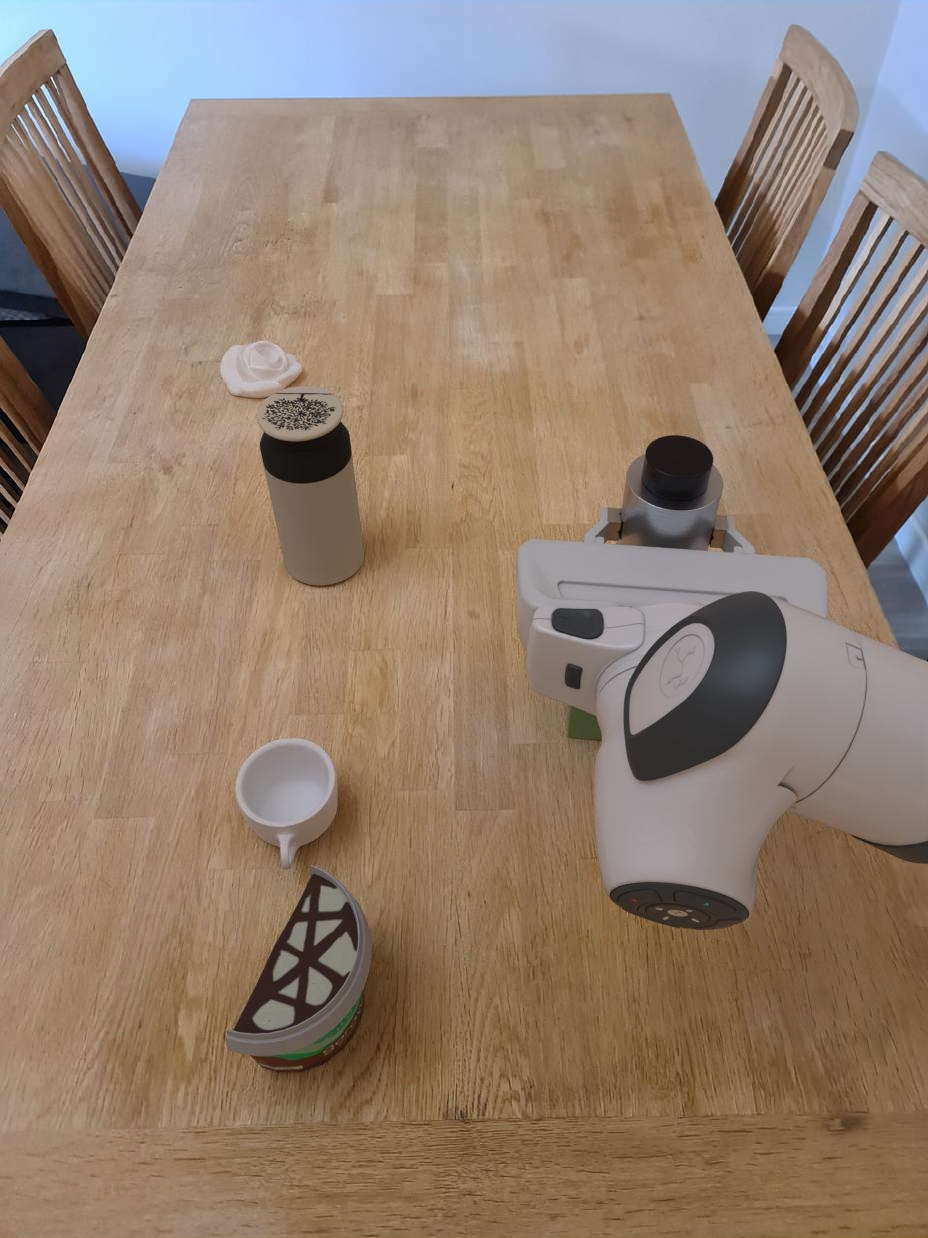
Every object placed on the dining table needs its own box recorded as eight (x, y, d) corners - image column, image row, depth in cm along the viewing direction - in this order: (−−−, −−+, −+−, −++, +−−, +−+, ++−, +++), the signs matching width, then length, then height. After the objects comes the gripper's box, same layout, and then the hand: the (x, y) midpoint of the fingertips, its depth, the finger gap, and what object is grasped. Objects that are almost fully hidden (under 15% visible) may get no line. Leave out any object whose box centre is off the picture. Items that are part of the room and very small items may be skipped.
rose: (212, 328, 117) (292, 317, 119) (219, 360, 120) (297, 348, 122) (218, 375, 111) (303, 362, 112) (226, 407, 114) (308, 394, 115)
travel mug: (353, 592, 94) (331, 443, 80) (274, 582, 95) (240, 433, 81) (373, 536, 99) (356, 387, 86) (298, 527, 100) (269, 379, 87)
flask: (691, 574, 76) (726, 428, 65) (695, 636, 71) (732, 490, 61) (608, 568, 76) (629, 422, 66) (607, 629, 72) (630, 483, 61)
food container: (335, 1125, 63) (315, 1077, 55) (251, 1090, 64) (220, 1038, 57) (408, 950, 70) (399, 886, 63) (331, 922, 72) (313, 857, 64)
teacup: (250, 778, 80) (238, 741, 76) (344, 772, 80) (336, 734, 76) (241, 891, 73) (227, 857, 69) (343, 883, 74) (335, 849, 70)
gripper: (859, 650, 56) (827, 493, 65) (506, 623, 58) (523, 473, 67) (829, 715, 61) (803, 560, 70) (504, 687, 63) (520, 540, 72)
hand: (664, 517), depth 69 cm, fingers closed on flask, 6 cm apart
